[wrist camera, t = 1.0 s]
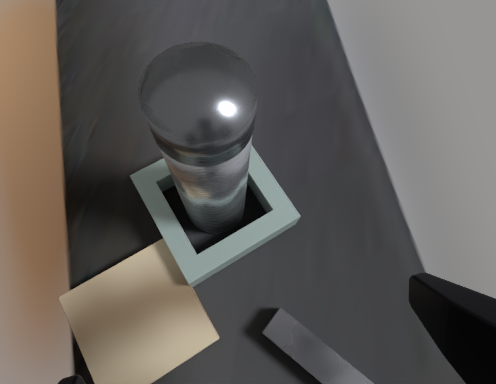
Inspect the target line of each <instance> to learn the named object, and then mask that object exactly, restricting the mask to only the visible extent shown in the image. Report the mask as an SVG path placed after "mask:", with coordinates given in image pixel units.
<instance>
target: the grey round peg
mask: <svg viewBox="0 0 496 384" xmlns="http://www.w3.org/2000/svg"><path fill="white" fill-rule="evenodd" d="M138 96H139V102H140V106H141V109H142V111H143V113H144V116H145V118H146V120H147V123H148V125H149V127H150V130H151V132H152V134H153V137H154V139H155V141H156V143H157V144H158V146H159V148H160V150H161V152H162V155H163V157H164V159H165V162H166V164H167V167H168V169H169V171H170V174H171V176H172V178H173V181H174V183H175V186H176V188H177V190H178V193H179V195H180V198H181V200H182V202H183V205H184V207H185V209H186V212H187V214H188V217H189V219H190V220H191V222H192V223H193V224H194V225H195V226H196V227H197V228H198V229H200V230H202V231H204V232H207V233H212V234H218V233H223V232H226V231H228V230H230V229H232V228H233V227H235V226H236V225H237V224H238V222H239V221H240V219H241V218H242V216H243V212H244V206H245V197H246V187H247V178H248V169H249V159H250V150H251V140H252V134H253V130H254V124H255V115H256V106H257V98H258V85H257V80H256V77H255V74H254V72H253V70H252V68H251V67H250V65H249V64H248V63H247V62H246V61H245V59H243V58H242V57H241V56H240V55H239V54H237V53H236V52H234V51H233V50H231V49H229V48H227V47H224V46H222V45H218V44H215V43H209V42H190V43H184V44H180V45H177V46H174V47H171V48H169V49H167V50H165V51H164V52H162V53H161V54H159V55H158V56H157V57H155V58H154V59H153V60H152V61H151V62H150V63H149V65H148V66H147V67H146V69H145V70H144V72H143V74H142V76H141V79H140V83H139V88H138Z"/></svg>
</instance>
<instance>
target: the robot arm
mask: <svg viewBox="0 0 496 384" xmlns="http://www.w3.org/2000/svg"><path fill="white" fill-rule="evenodd" d="M409 302H410V305H411V307H412V309H413V310H414V312H415V313H416V315H417V316H418V318H419V319H420V321H421V322H422V324H423V325H424V327H425V328H426V330H427V331H428V333H429V334H430V336H431V337H432V339H433V340H434V342H435V343H436V345H437V347H438V348H439V349H440V351H441V352H442V354H443V355H444V356H445V358H446V359H447V360H448V362H449V363H450V364H451V365H452V367H453V368H454V369H455V370H456V372H457V373H458V374H459V375H460V377H461V378H462V379H463V380H464V382H465V383H466V384H496V299H495V298H492V297H489V296H487V295H484V294H481V293H479V292H476V291H473V290H471V289H468V288H465V287H463V286H460V285H457V284H455V283H452V282H449V281H447V280H444V279H441V278H439V277H436V276H433V275H431V274H428V273H419V274H416V275H413V276H411V277H410V279H409ZM58 384H85V382H84V380H83V378H82V377H81V376H80V375H73V376H70V377H67V378H64V379H62V380H61V381H60V382H59V383H58Z"/></svg>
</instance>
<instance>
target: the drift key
mask: <svg viewBox="0 0 496 384" xmlns="http://www.w3.org/2000/svg"><path fill="white" fill-rule="evenodd" d="M261 333H262V334H263V335H265V336H266V337H267V338H268V339H269V340H271V341H272V342H273V343H274V344H275V345H276V346H278V347H279V348H280V349H281V350H282V351H284V352H285V353H286V354H287V355H288V356H289V357H291V358H292V359H293V360H294V361H295V362H297V363H298V364H299V365H300V366H301V367H303V368H304V369H305V370H306V371H307V372H308V373H310V374H311V375H312V376H313V377H314V378H316V379H317V380H318V381H319V382H320V383H322V384H374V383H373V382H371V381H370V380H369V379H368V378H366V377H365V376H364V375H363V374H362V373H360V372H359V371H358V370H357V369H355V368H354V367H353V366H352V365H350V364H349V363H348V362H347V361H346V360H344V359H343V358H342V357H341V356H339V355H338V354H337V353H336V352H335V351H333V350H332V349H331V348H330V347H328V346H327V345H326V344H325V343H324V342H322V341H321V340H320V339H319V338H317V337H316V336H315V335H314V334H312V333H311V332H310V331H309V330H308V329H306V328H305V327H304V326H303V325H301V324H300V323H299V322H298V321H297V320H295V319H294V318H293V317H292V316H290V315H289V314H288V313H287V312H286V311H284V310H283V309H282V308H281V307H280V308H278V309H277V310H276V312H275V313H274V314H273V316H272V317H271V319H270V320H269V321H268V323H267V324H266V326H265V327H264V328H263V330H262V331H261Z"/></svg>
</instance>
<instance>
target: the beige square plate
mask: <svg viewBox="0 0 496 384" xmlns="http://www.w3.org/2000/svg"><path fill="white" fill-rule="evenodd" d="M58 298H59V301H60V303H61V305H62V308H63V310H64V312H65V314H66V317H67V319H68V322H69V324H70V326H71V329H72V331H73V334H74V336H75V338H76V341H77V343H78V345H79V348H80V350H81V352H82V355H83V357H84V360H85V362H86V364H87V367H88V369H89V371H90V374H91V376H92V378H93V381H94V383H95V384H151V383H153V382H154V381H156V380H157V379H159V378H160V377H162V376H163V375H165V374H166V373H168V372H169V371H171V370H172V369H174V368H175V367H177V366H178V365H180V364H182V363H183V362H185V361H186V360H188V359H189V358H191V357H192V356H194V355H195V354H197V353H198V352H200V351H201V350H203V349H204V348H206V347H207V346H209V345H210V344H212V343H213V342H215V341H216V340H218V339H219V338H220V337H219V335H218V333H217V331H216V330H215V328H214V326H213V324H212V322H211V320H210V319H209V317H208V315H207V313H206V311H205V309H204V308H203V306H202V304H201V302H200V300H199V298H198V297H197V295H196V293H195V291H194V289H193V288H192V287H191V286H190V285H189V284H188V282H187V280H186V278H185V276H184V275H183V273H182V271H181V269H180V267H179V265H178V264H177V262H176V260H175V258H174V256H173V254H172V253H171V251H170V249H169V247H168V245H167V243H166V242H165V240H164V238H163V239H161V240H159V241H157V242H156V243H154V244H152V245H150V246H148V247H147V248H145V249H143V250H141V251H140V252H138V253H136V254H134V255H133V256H131V257H129V258H127V259H125V260H124V261H122V262H120V263H118V264H117V265H115V266H113V267H111V268H109V269H108V270H106V271H104V272H102V273H101V274H99V275H97V276H95V277H94V278H92V279H90V280H88V281H86V282H85V283H83V284H81V285H79V286H78V287H76V288H74V289H72V290H70V291H69V292H67V293H65V294H63V295H62V296H60V297H58Z"/></svg>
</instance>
